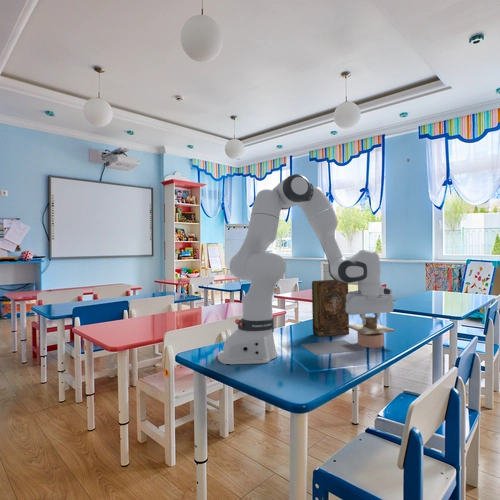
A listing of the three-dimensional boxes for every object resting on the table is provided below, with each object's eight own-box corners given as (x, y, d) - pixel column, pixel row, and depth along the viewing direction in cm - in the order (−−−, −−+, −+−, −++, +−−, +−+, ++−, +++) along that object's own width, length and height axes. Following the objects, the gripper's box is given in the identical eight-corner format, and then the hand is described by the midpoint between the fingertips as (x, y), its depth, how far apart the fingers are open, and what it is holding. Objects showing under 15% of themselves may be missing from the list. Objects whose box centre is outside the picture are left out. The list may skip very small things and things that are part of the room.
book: (344, 332, 163) (343, 279, 163) (351, 334, 158) (349, 280, 158) (312, 335, 159) (311, 280, 159) (318, 338, 154) (317, 281, 154)
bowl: (366, 349, 135) (366, 336, 135) (353, 343, 144) (352, 331, 144) (389, 347, 137) (388, 334, 137) (374, 341, 147) (374, 329, 147)
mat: (315, 356, 128) (315, 355, 128) (300, 345, 143) (300, 344, 143) (364, 351, 133) (364, 350, 133) (344, 341, 147) (344, 340, 147)
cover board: (364, 334, 133) (364, 321, 133) (347, 327, 146) (347, 315, 146) (394, 331, 136) (393, 319, 136) (374, 324, 149) (374, 313, 149)
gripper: (350, 292, 135) (350, 327, 135) (395, 289, 140) (396, 324, 140) (342, 290, 141) (342, 324, 141) (386, 288, 146) (386, 320, 146)
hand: (370, 324), depth 141 cm, fingers closed on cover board, 3 cm apart
